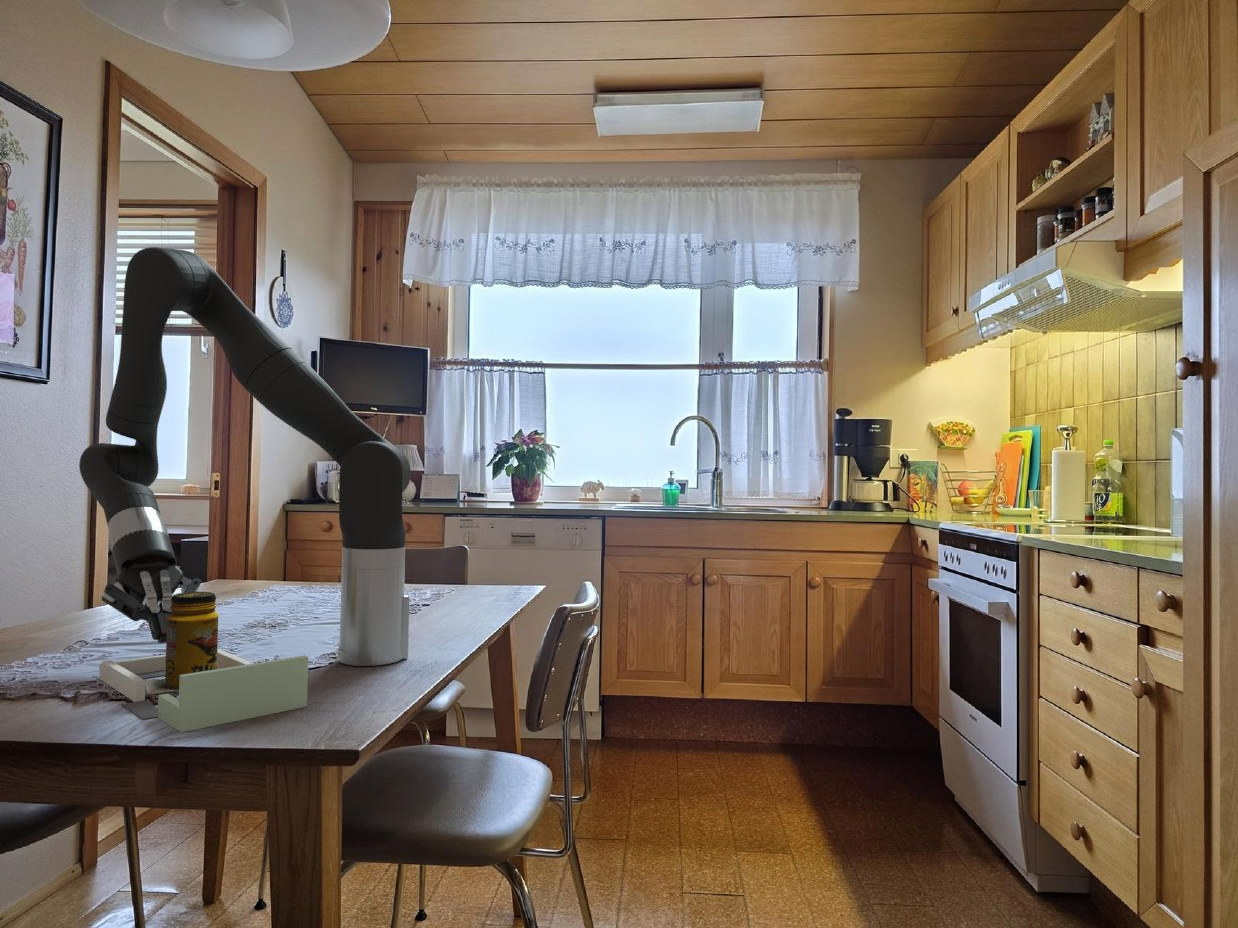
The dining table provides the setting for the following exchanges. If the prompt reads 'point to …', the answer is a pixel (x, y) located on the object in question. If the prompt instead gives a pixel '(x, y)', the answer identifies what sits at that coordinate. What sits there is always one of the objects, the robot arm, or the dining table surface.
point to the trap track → (212, 689)
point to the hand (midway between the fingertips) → (166, 639)
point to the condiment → (188, 639)
